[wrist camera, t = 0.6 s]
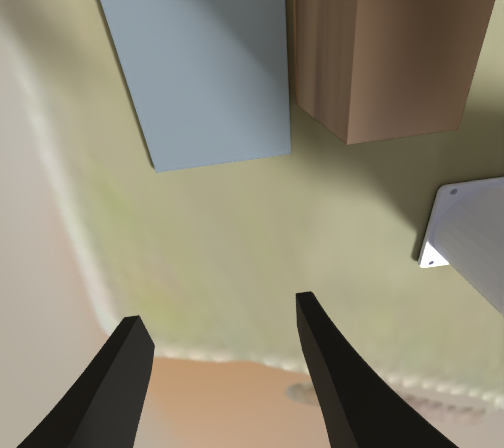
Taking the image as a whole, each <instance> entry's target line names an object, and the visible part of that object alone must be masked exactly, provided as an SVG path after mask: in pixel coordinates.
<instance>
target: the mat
mask: <svg viewBox="0 0 504 448" xmlns="http://www.w3.org/2000/svg"><path fill="white" fill-rule="evenodd" d="M100 1H101V4H102V7H103V10H104V13H105V16H106V19H107V22H108V25H109V28H110V32H111V35H112V38H113V41H114V44H115V47H116V50H117V53H118V56H119V59H120V62H121V65H122V69H123V72H124V75H125V78H126V81H127V84H128V87H129V90H130V93H131V96H132V99H133V102H134V106H135V109H136V112H137V115H138V118H139V121H140V124H141V127H142V130H143V133H144V136H145V139H146V142H147V146H148V149H149V152H150V155H151V158H152V161H153V164H154V167H155V170H156V173H157V172H165V171H172V170H179V169H186V168H194V167H201V166H208V165H215V164H222V163H230V162H237V161H244V160H251V159H259V158H266V157H273V156H280V155H288V154H291V141H290V115H289V89H288V62H287V36H286V10H285V0H100Z"/></svg>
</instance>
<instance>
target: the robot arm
mask: <svg viewBox="0 0 504 448" xmlns="http://www.w3.org/2000/svg"><path fill="white" fill-rule="evenodd" d="M451 190H453V191H452V192H451ZM446 264H450V265H451V266H452V267H453V268H454V269H455V270H456V271H457V272H458V273H459V274H460V275H461V276H462V277H463V278H464V279H465V280H466V281H467V282H469V283H470V284H471V285H472V286H473V287H474V288H475V289H476V290H477V291H478V292H479V293H480V294H481V295H482V296H483V297H484V298H485V299H486V300H487V301H488V302H489V303H490V304H491V305H492V306H493V307H494V308H495V309H496V310H497V311H498V312H499V313H500V314H501V315H502V316H503V317H504V177H498V178H491V179H483V180H476V181H469V182H462V183H455V184H447V185H443V186H442V187H440V188H439V190H438V192H437V195H436V199H435V202H434V206H433V209H432V213H431V217H430V220H429V224H428V227H427V231H426V234H425V238H424V241H423V245H422V248H421V252H420V256H419V259H418V265H419V266H420V267H422V268H425V267H432V266H439V265H446ZM296 313H297V328H298V333H299V337H300V342H301V346H302V351H303V354H304V357H305V360H306V363H307V366H308V370H309V373H310V376H311V379H312V382H313V385H314V388H315V391H316V394H317V398H318V401H319V404H320V407H321V410H322V414H323V417H324V421H325V425H326V429H327V433H328V437H329V442H330V445H331V448H459V447H457V446H456V445H455V444H454V443H453V442H451V441H450V440H449V439H448V438H447V437H445V436H444V435H443V434H442V433H440V432H439V431H438V430H437V429H436V428H434V427H433V426H432V425H431V424H430V423H429V422H428V421H426V420H425V419H424V418H423V417H422V416H421V415H420V414H419V413H417V412H416V411H415V410H414V409H413V408H412V407H411V406H410V405H408V404H407V403H406V402H405V401H404V400H403V399H402V398H401V397H400V396H399V395H398V394H397V393H396V392H394V391H393V390H392V389H391V388H390V387H389V386H388V385H387V384H386V383H385V382H384V381H383V380H382V379H381V378H380V377H379V376H378V375H377V374H376V373H375V372H374V370H373V369H372V368H371V367H370V366H369V365H368V364H367V363H366V362H365V361H364V360H363V359H362V357H361V356H360V355H359V354H358V353H357V352H356V351H355V349H354V348H353V347H352V346H351V345H350V344H349V342H348V341H347V340H346V339H345V337H344V336H343V335H342V334H341V332H340V331H339V330H338V329H337V327H336V326H335V325H334V323H333V322H332V321H331V319H330V318H329V317H328V315H327V314H326V312H325V311H324V309H323V308H322V306H321V305H320V303H319V302H318V300H317V299H316V297H315V295H314V294H313V293H312V292H311V291H310V292H302V293H296ZM154 348H155V345H154V343H153V341H152V339H151V337H150V335H149V333H148V331H147V329H146V328H145V326H144V324H143V322H142V320H141V318H140V316H139V315H138V316H131V317H124V319H123V320H122V321H121V322H120V324H119V325H118V326H117V328H116V329H115V330H114V332H113V333H112V335H111V336H110V337H109V339H108V340H107V341H106V343H105V344H104V345H103V347H102V348H101V349H100V351H99V352H98V353H97V355H96V356H95V357H94V359H93V360H92V361H91V363H90V364H89V365H88V367H87V368H86V369H85V370H84V372H83V373H82V374H81V376H80V377H79V378H78V379H77V381H76V382H75V383H74V384H73V385H72V387H71V388H70V389H69V390H68V391H67V393H66V394H65V395H64V397H63V398H62V399H61V400H60V401H59V402H58V403H57V405H56V406H55V407H54V408H53V409H52V410H51V411H50V413H49V414H48V415H47V416H46V417H45V418H44V419H43V420H42V422H41V423H40V424H39V425H38V426H37V427H36V428H35V429H34V430H33V431H32V432H31V433H30V434H29V435H28V436H27V438H25V439H24V441H23V442H22V443H21V444H20V445H18V446H17V448H133V445H134V441H135V436H136V432H137V428H138V424H139V420H140V416H141V412H142V408H143V404H144V400H145V396H146V392H147V388H148V384H149V380H150V375H151V370H152V364H153V356H154Z"/></svg>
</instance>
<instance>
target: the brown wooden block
mask: <svg viewBox="0 0 504 448" xmlns="http://www.w3.org/2000/svg"><path fill="white" fill-rule="evenodd" d="M494 3H495V0H294V39H295V78H296V104H297V105H298V106H300V107H301V108H302V109H303V110H305V111H306V112H307V113H308V114H310V115H311V116H312V117H313V118H314V119H316V120H317V121H318V122H319V123H321V124H322V125H323V126H324V127H326V128H327V129H328V130H329V131H331V132H332V133H333V134H334V135H335V136H337V137H338V138H339V139H340V140H342V141H343V142H344V143H345V144H347V145H349V144H356V143H364V142H371V141H378V140H385V139H392V138H400V137H407V136H414V135H421V134H429V133H436V132H443V131H450V130H457V129H458V128H459V124H460V121H461V118H462V114H463V111H464V107H465V104H466V100H467V97H468V93H469V90H470V86H471V83H472V79H473V76H474V72H475V69H476V65H477V62H478V58H479V55H480V51H481V48H482V44H483V41H484V37H485V34H486V31H487V27H488V24H489V20H490V17H491V13H492V10H493V6H494Z"/></svg>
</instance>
